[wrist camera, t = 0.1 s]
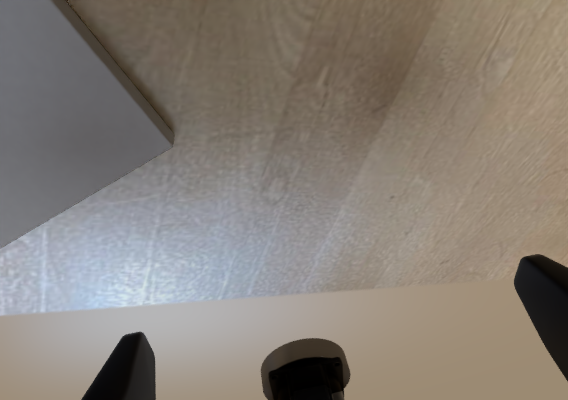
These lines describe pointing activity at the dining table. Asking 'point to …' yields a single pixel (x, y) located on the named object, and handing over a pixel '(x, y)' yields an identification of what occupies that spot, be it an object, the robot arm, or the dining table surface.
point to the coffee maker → (63, 116)
